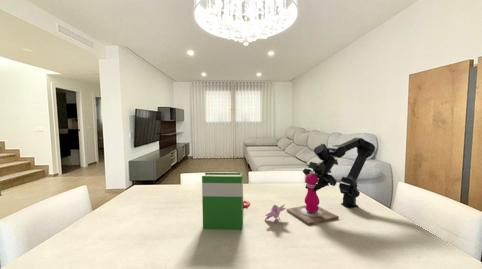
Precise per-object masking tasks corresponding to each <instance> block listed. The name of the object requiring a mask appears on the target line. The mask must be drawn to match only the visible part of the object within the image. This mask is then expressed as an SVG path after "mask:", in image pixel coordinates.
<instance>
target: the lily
mask: <svg viewBox="0 0 482 269" xmlns="http://www.w3.org/2000/svg"><path fill="white" fill-rule="evenodd" d="M285 205H286V203H285V204H283V205H281V206H280V207H279V206H278V205H276V204H273V206H272V208H271V209H270V210H271V211H270V212H268V213H266V214H265V215H264V216H266V218H265V219H264V221H267V220H269V219H270V218H272V217H273V218H274V219H277V218H278V220H279V222H280V226H283V224H282V221H281V218H280V215H281V212H282V211H285V210H287V208H286V207H285Z"/></svg>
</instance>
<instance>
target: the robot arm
mask: <svg viewBox="0 0 482 269" xmlns="http://www.w3.org/2000/svg"><path fill="white" fill-rule="evenodd" d="M355 148H356V152H357V156H356V158H355V159H354V162H353V164H352V165H351V168H350V170H349V171H348V174H347V176H342V177H341V179H340V181H339V185H338V188H339V191H340V194H343V195H342V202H341V203H340V204H341V205H342V206H345V207H347V208H348V209H351V208H356V207H359V205H358V204H357V198H358V197H360V194H361V192H360V191H359V189H358V188H357V187H358V182H357V181H358V179H359V178H358V177H359V176H360V174H361V171H362V170H363V167H364V166H365V163H366V161H367V159H369V158H370V157H372V156H373V154H374V152H375V150H376V147H375V144H373V143H371V142H369V141H368V140H365V139H364V138H363V137H354V138H352V139H349V140H347V141H346V142H344V143H341V144H336V145H335V144H334V145H329V147H327V145H326V144H325V143H321V144H319V145H317V146H316V147H315V148H314V149H313V152H314V154H315V156H316V157H317V158H318V159H319V160H320V161H321V162H314V161H310V162H309V164H308V168H304V169H303V170H302V173H303V175H305V177H306V176H307V175H308V174H310V171H313V174H314V175H316V176H317V178H318V182H317V183H316V186H315V188H314V190H313V191H314V192H315V191H316V192H317V191H319V190H321V189H323V188H325V187H327V186H328V187H329V186H333V187H335V186H336V185H337V184H338V181H337V179H336V178H335V177H334V176H333V175H332V174H331V173H332V171H331V170H332V168H333V167H334V165H336V166H338V165H339V162H338V159H341V158H342V157H344V156H345V155H346V153H347V152H349V151H350V150H353V149H355ZM336 158H337V159H336ZM311 169H312V170H311ZM305 189H307V190H308V187H307V182H306V185H305Z"/></svg>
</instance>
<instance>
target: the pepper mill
mask: <svg viewBox="0 0 482 269" xmlns="http://www.w3.org/2000/svg"><path fill="white" fill-rule="evenodd" d="M313 173H314V171H313V170H311V171H310V174H308V175H307V176H306V175H305V182H306V183H307V187H308V189H307V193H306V195H305V197H304V204H305V206H306V210H307V211H309V212H317V211H318V206H319V205H320V198H319V196H318V194H317V191H315V192H314V191H313V190H314V188H315V186H316V184H317V183H318V180H319V178H317V176H316V175H314V174H313Z"/></svg>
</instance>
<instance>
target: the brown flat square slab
mask: <svg viewBox="0 0 482 269" xmlns="http://www.w3.org/2000/svg"><path fill="white" fill-rule="evenodd" d="M286 212H287V213H288V214H290V215H292V216H293V217H295V218H296V219H298V220H299V221H301V222H302V223H304V224H306V225H307V226H312V225H316V224H321V223H322V224H323V223H326V222H330V221H335V220H339V219H340V218H339V217H340V216H338V215H336V214H334V213H332V212H331V211H329V210H327V209H326V208H325V209H324V208H323V207H320V206H319V205H318V211H317V212H309V211H307V210H306V205H302V206H296V207H290V208H286Z"/></svg>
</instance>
